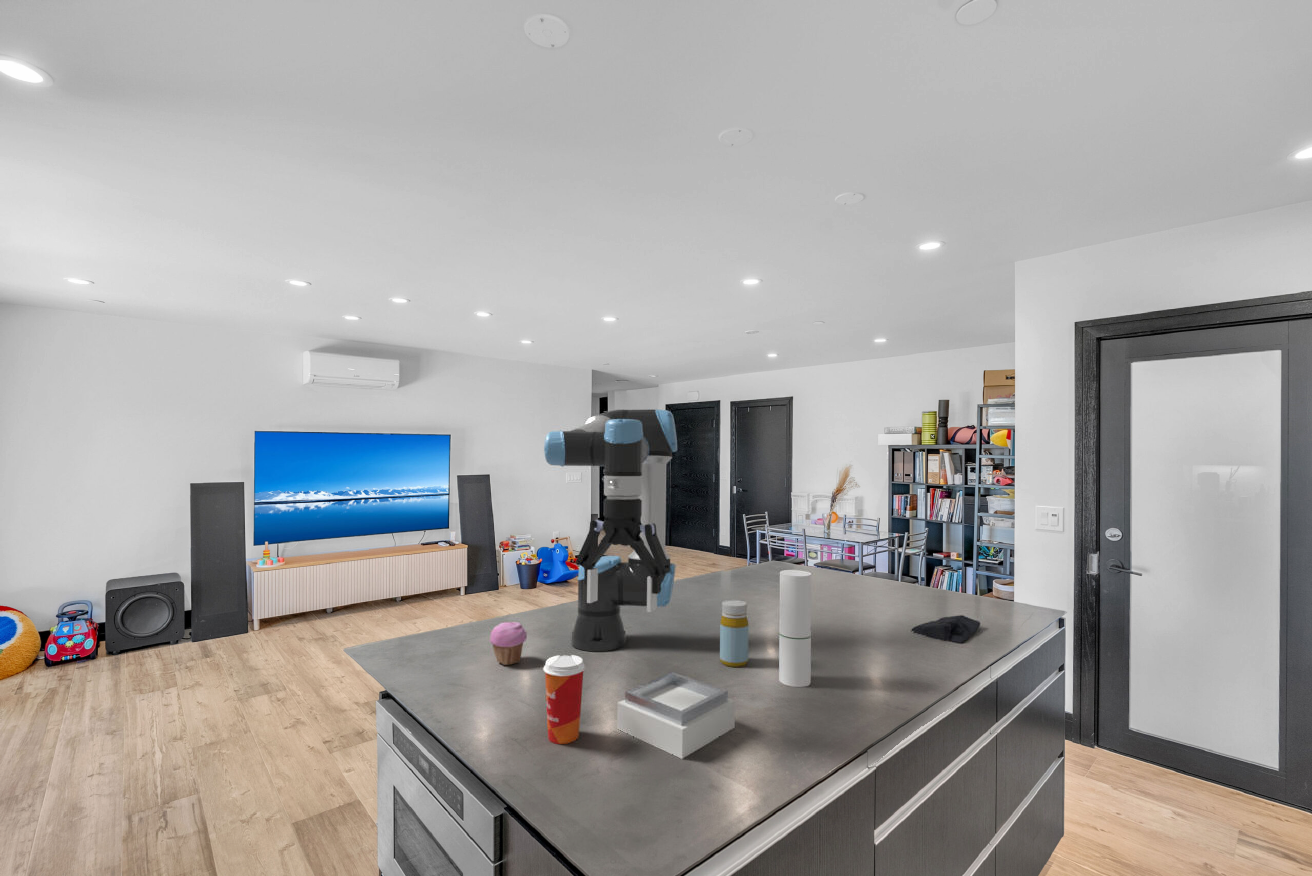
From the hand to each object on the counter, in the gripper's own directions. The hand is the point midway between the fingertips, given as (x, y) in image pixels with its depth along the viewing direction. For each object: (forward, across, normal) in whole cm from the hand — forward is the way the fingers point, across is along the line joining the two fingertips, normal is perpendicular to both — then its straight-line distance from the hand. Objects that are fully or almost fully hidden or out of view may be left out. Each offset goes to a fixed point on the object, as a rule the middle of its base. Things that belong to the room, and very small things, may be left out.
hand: (621, 606), depth 116 cm
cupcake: (+22, -41, +15) cm, 49 cm away
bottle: (+22, +8, +42) cm, 48 cm away
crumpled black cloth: (+22, +56, +99) cm, 116 cm away
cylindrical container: (+22, +25, +38) cm, 51 cm away
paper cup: (+23, -6, -10) cm, 26 cm away
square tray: (+23, +11, +3) cm, 25 cm away
